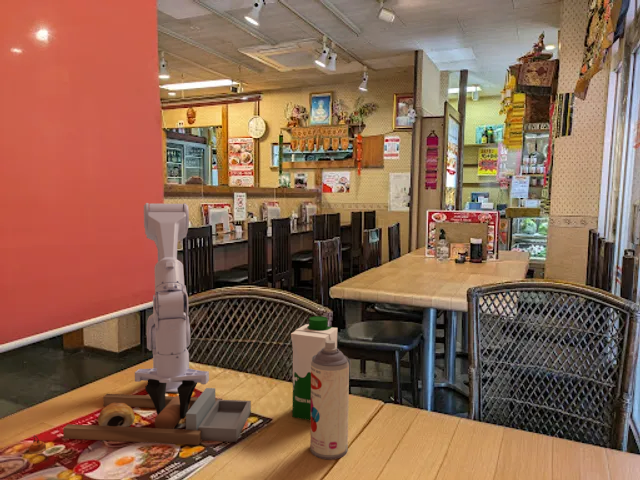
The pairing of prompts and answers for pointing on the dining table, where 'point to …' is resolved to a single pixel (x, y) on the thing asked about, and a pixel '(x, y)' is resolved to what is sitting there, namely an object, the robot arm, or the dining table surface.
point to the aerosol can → (329, 402)
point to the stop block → (200, 409)
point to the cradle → (225, 420)
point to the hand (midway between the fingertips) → (172, 416)
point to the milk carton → (307, 361)
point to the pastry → (116, 415)
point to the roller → (169, 415)
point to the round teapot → (37, 446)
